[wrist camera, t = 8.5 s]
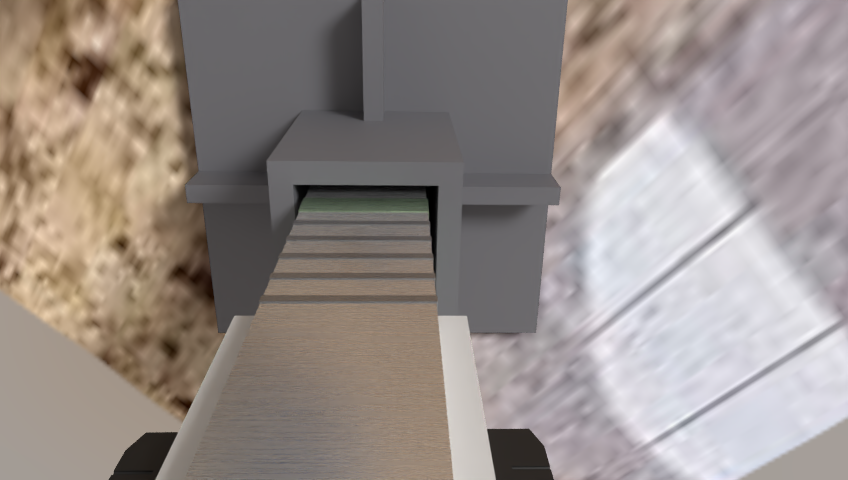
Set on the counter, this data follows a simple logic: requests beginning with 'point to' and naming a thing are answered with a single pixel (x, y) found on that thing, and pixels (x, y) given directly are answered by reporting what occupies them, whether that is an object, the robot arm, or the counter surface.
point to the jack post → (340, 352)
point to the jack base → (379, 134)
